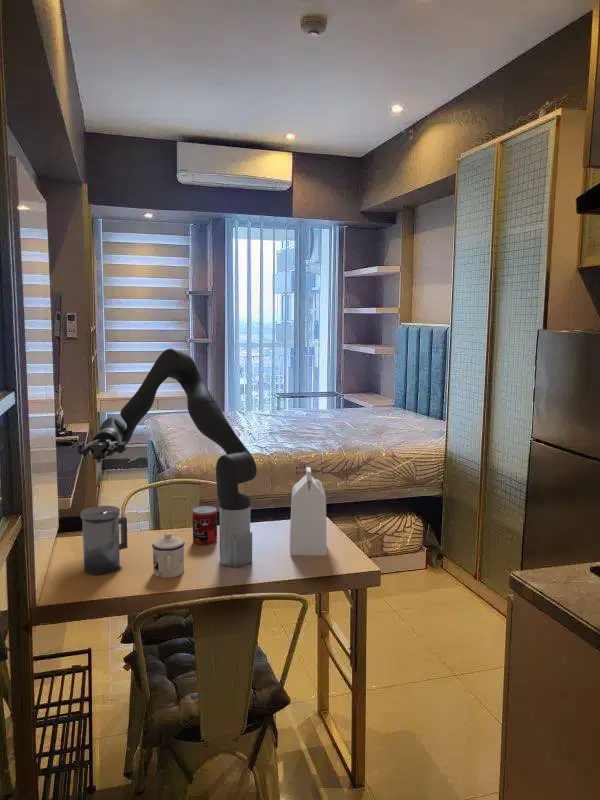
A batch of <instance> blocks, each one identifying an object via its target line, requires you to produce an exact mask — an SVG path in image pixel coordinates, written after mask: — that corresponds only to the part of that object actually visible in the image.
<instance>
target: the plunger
mask: <svg viewBox="0 0 600 800" xmlns="http://www.w3.org/2000/svg"><path fill="white" fill-rule="evenodd" d="M90 455H91V459H93V460H96V480H97V481H102V479H103V478H102V460H103V459H106V458H107V456H106V443H92V444H91V454H90Z"/></svg>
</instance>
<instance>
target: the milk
mask: <svg viewBox="0 0 600 800" xmlns="http://www.w3.org/2000/svg"><path fill="white" fill-rule="evenodd" d="M290 502H291V503H290V505H291V506H290V521H289V523H290V525H289V541H290V542H289V556H327V555H328V553H327V550H328V549H327V548H328V547H327V544H328V543H327V540H328V539H327V497H326V492H325V488H324V486H323V483H322V482H321V480H319V479H318V478H316V479H315V477H313V476H312V470H311V467H310V466H308V467H307V466H306V467H305V475H304V476H303V477H302V478H300V480H299V481H297V482H296V483H295V484H294V485H293V486H292V488H291V501H290Z"/></svg>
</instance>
